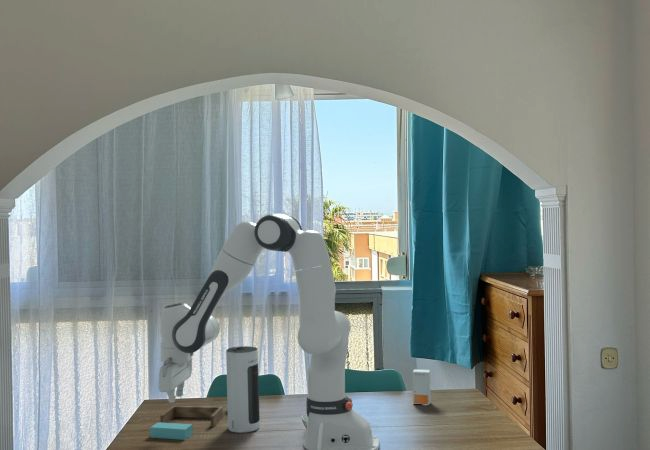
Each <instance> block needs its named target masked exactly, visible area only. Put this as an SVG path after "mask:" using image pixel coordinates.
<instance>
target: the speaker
mask: <svg viewBox="0 0 650 450" xmlns="http://www.w3.org/2000/svg"><path fill="white" fill-rule="evenodd" d="M225 357H226V361H225V363H226V364H225V365H226V397H227V398H226V400H227V401H226V402H227V403H226V404H227V407H226V408H227V429H228V431H229V432H231V433H237V434H245V433H251V432H255V431H258V430H259V429H260V426H261V424H260V423H261V422H260V421H261V420H260V388H259V384H260V383H259V380H260V379H259V349H258V347H255V346H247V345H242V346H232V347H229V348H226V350H225Z"/></svg>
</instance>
